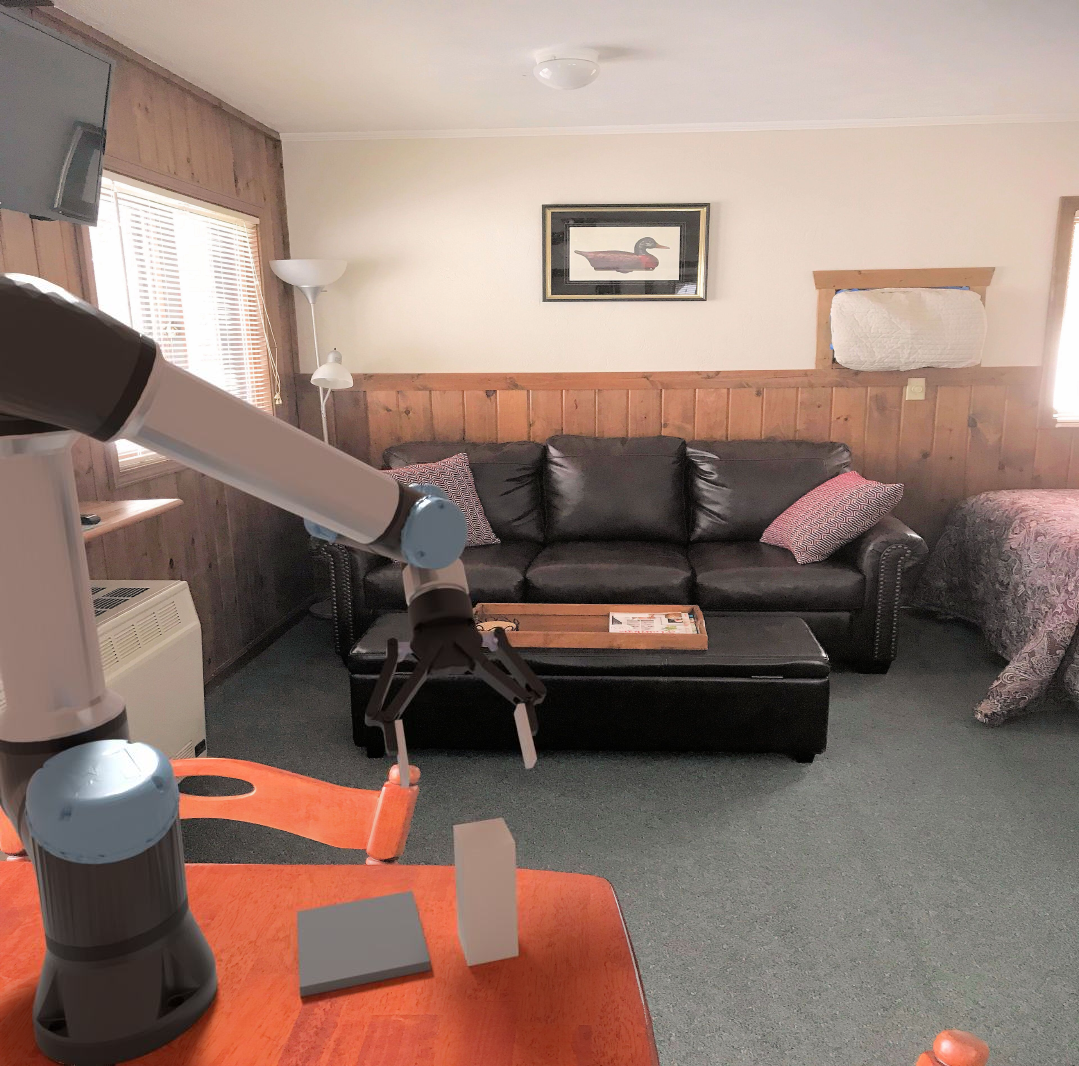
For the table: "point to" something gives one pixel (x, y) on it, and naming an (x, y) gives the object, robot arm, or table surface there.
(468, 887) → the white rectangular block
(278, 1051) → the table surface
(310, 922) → the mat
